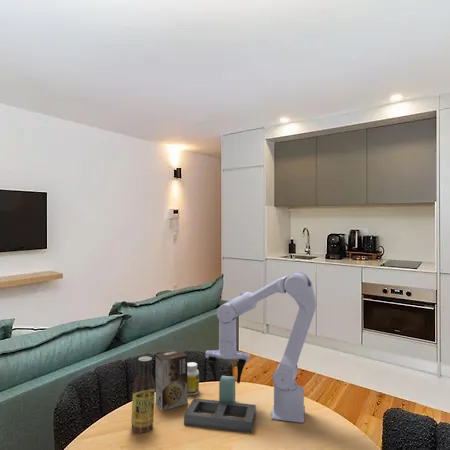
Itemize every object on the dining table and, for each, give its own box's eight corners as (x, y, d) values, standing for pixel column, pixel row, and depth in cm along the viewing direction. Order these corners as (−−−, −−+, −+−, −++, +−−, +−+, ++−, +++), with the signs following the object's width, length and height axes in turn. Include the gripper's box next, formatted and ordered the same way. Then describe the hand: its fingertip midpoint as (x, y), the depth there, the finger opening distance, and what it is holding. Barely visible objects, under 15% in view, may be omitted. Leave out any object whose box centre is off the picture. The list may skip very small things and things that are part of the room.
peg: (235, 400, 116) (235, 376, 116) (232, 407, 111) (232, 382, 111) (222, 399, 117) (222, 375, 117) (219, 406, 112) (219, 381, 112)
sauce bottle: (134, 436, 95) (134, 364, 96) (129, 425, 101) (129, 357, 101) (157, 430, 98) (157, 360, 99) (151, 419, 104) (151, 353, 104)
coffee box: (180, 396, 119) (180, 348, 119) (188, 404, 113) (188, 354, 114) (154, 402, 114) (155, 353, 114) (161, 411, 109) (162, 360, 109)
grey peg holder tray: (255, 414, 107) (255, 404, 107) (251, 433, 97) (251, 422, 97) (193, 407, 111) (193, 398, 111) (183, 424, 101) (183, 414, 101)
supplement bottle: (198, 395, 119) (198, 367, 119) (182, 395, 119) (182, 367, 119) (199, 388, 124) (199, 361, 125) (184, 388, 125) (184, 361, 125)
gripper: (250, 337, 117) (250, 377, 117) (209, 334, 120) (209, 373, 120) (248, 344, 110) (247, 387, 110) (203, 340, 113) (203, 382, 113)
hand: (227, 381), depth 114 cm, fingers open, 7 cm apart
